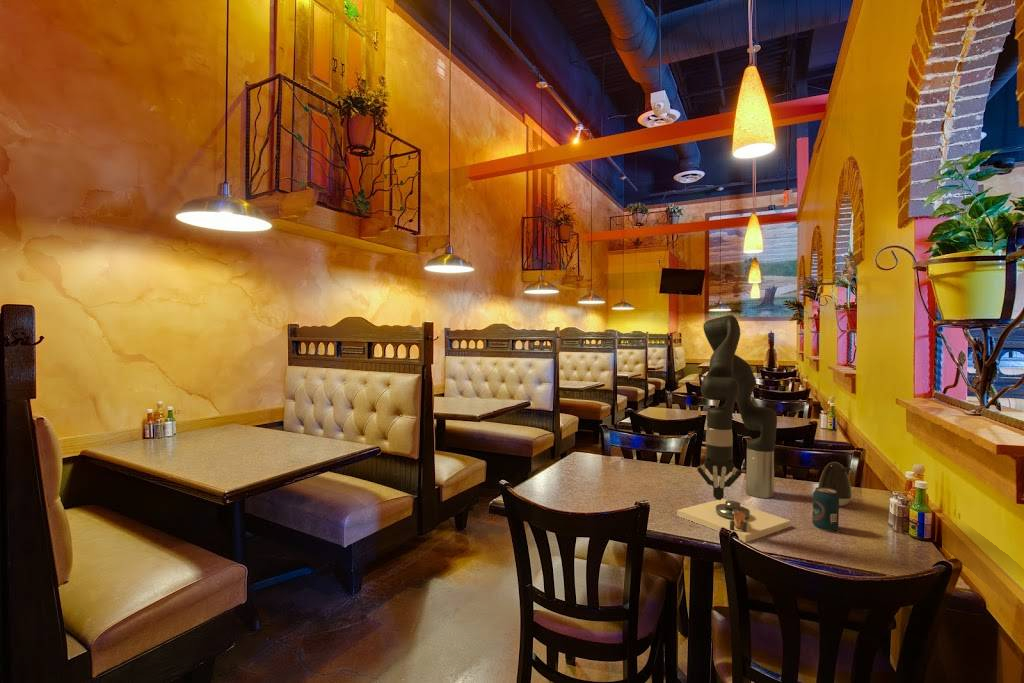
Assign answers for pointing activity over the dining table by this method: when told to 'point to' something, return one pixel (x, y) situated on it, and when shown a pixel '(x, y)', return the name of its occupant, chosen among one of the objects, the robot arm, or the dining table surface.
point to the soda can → (825, 509)
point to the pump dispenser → (837, 481)
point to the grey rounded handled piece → (733, 512)
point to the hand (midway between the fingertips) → (718, 499)
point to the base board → (750, 530)
